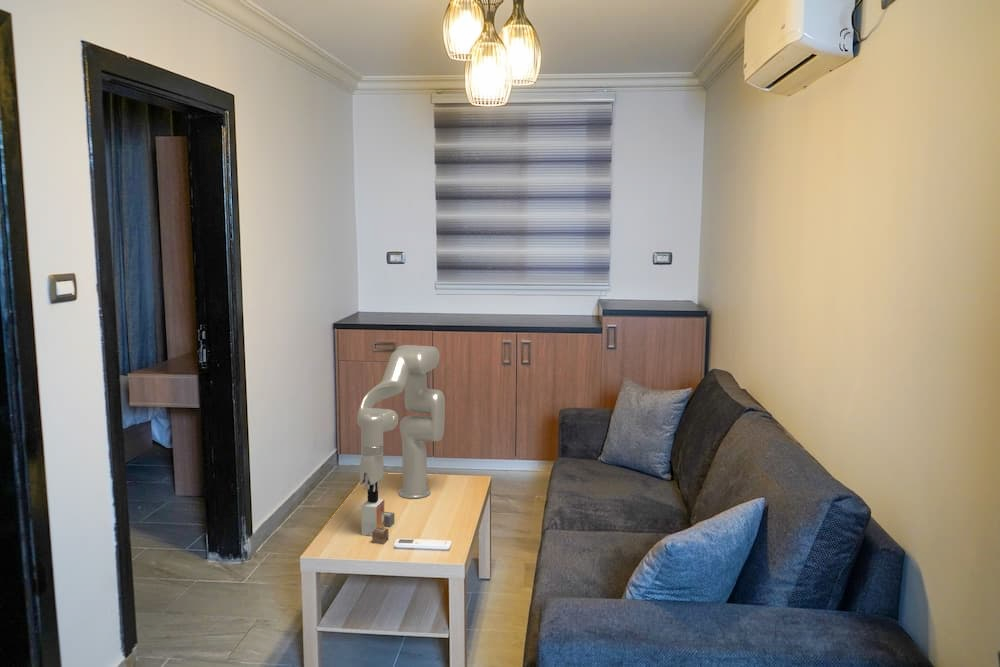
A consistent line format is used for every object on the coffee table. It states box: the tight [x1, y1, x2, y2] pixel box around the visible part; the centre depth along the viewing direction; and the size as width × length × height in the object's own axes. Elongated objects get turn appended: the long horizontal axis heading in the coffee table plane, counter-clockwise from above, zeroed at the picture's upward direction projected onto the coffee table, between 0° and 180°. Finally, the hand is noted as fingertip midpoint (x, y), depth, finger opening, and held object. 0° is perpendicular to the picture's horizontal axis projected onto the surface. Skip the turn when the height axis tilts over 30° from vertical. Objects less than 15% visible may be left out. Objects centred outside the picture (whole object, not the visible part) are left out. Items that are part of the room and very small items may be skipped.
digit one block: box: [384, 511, 395, 529], centre depth 265 cm, size 4×4×4 cm
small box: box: [360, 498, 385, 537], centre depth 258 cm, size 8×6×10 cm
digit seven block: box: [371, 527, 389, 545], centre depth 250 cm, size 4×4×4 cm
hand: (372, 501), depth 257 cm, fingers closed
